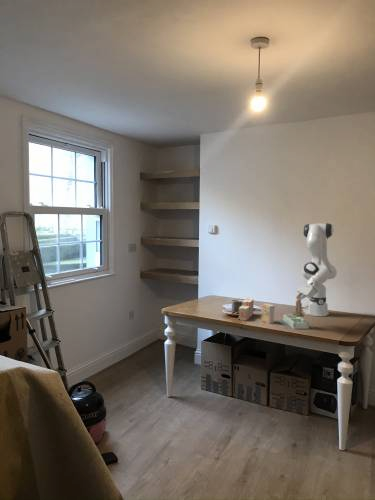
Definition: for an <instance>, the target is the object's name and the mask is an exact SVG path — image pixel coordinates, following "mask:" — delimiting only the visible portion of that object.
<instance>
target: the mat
mask: <svg viewBox="0 0 375 500" xmlns="http://www.w3.org/2000/svg"><path fill="white" fill-rule="evenodd" d="M276 321H277V322H278V323H279V324H281V326H283V327H284V328H285V329H287V330H288V329H289V330H291V329H293V328H292V327H291V326H290V325H288V324H287V323H286V322H285V321H284V320H283V319H277V320H276ZM309 329H315V327H314V326H312V325H311V324H310V323H309ZM293 330H294V329H293Z"/></svg>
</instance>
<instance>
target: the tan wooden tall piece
mask: <svg viewBox="0 0 375 500" xmlns="http://www.w3.org/2000/svg"><path fill="white" fill-rule="evenodd" d="M296 297H297V298H296V301H295V312H293V313H292V314H293V315H295V316H296V317H301V318H304V317H305V315H304V314H303V313H302V311H303V308H302V307H303V306H302V305H303V303H302V302H301V301H302V300H301V301H300V300H299V299H298V298H299V297H301V296H300V295H298V294H297V295H296Z"/></svg>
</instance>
